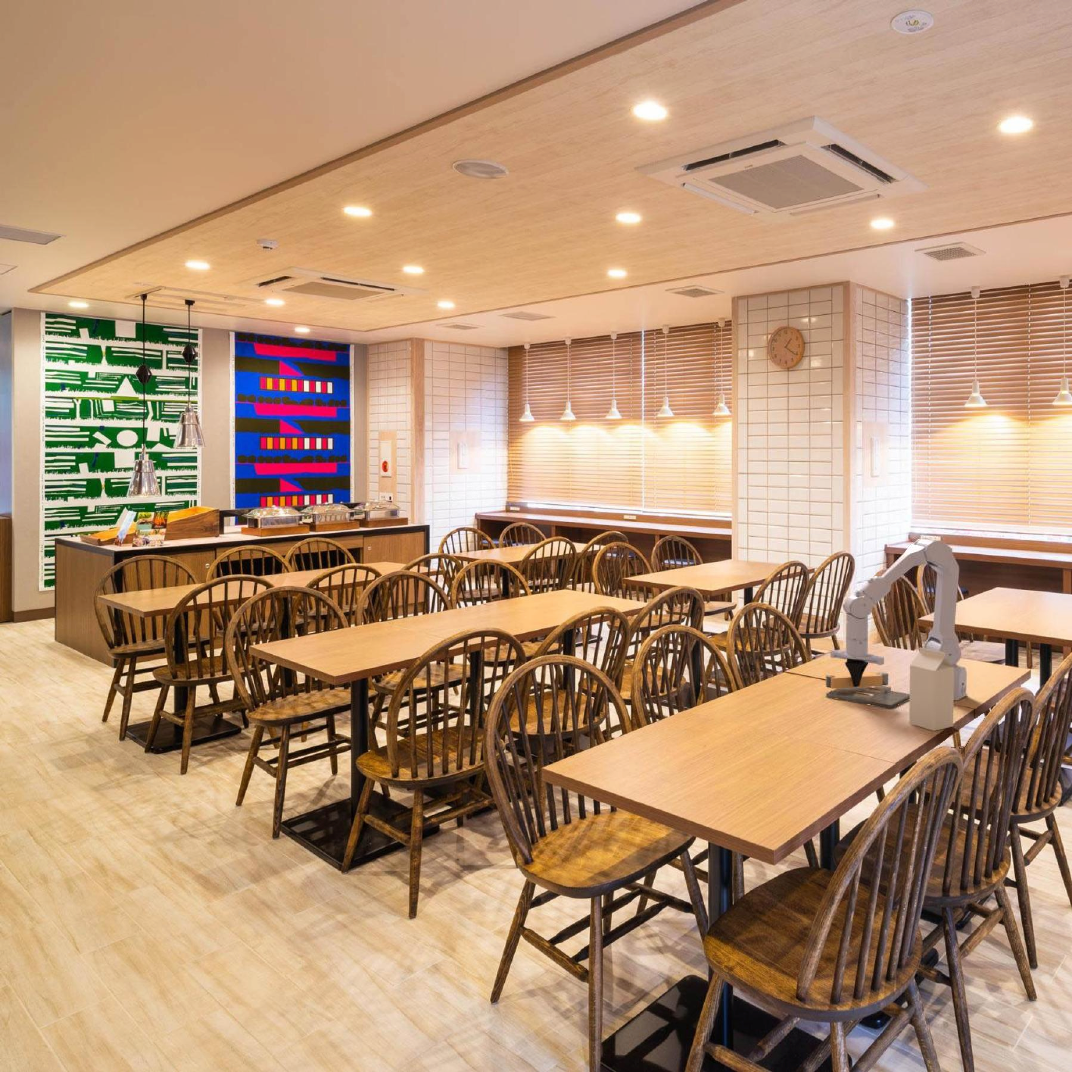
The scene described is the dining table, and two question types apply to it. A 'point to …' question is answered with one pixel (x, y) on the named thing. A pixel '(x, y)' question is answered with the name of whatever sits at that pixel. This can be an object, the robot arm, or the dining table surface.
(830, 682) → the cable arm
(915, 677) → the milk carton
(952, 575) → the robot arm
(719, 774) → the dining table surface
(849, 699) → the server tray
